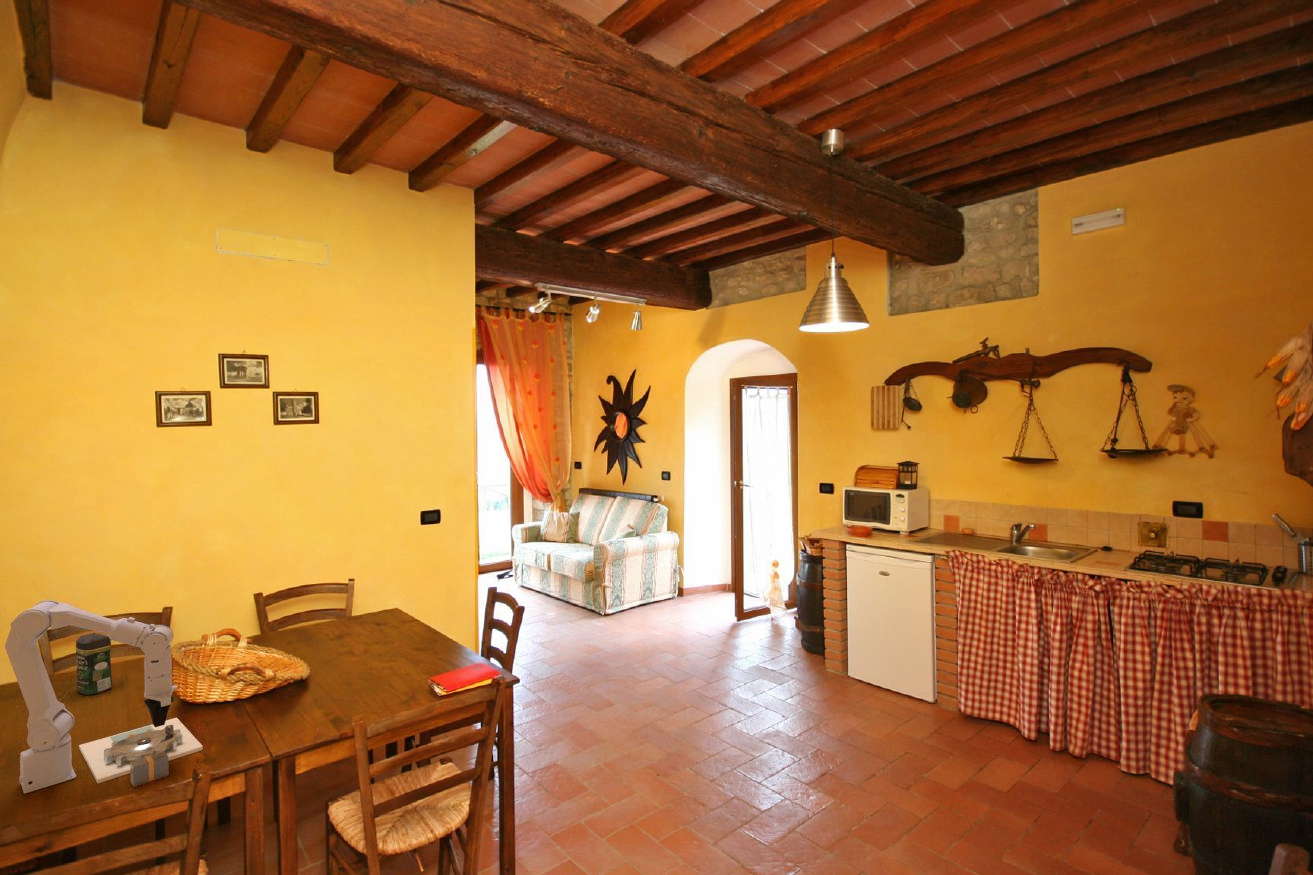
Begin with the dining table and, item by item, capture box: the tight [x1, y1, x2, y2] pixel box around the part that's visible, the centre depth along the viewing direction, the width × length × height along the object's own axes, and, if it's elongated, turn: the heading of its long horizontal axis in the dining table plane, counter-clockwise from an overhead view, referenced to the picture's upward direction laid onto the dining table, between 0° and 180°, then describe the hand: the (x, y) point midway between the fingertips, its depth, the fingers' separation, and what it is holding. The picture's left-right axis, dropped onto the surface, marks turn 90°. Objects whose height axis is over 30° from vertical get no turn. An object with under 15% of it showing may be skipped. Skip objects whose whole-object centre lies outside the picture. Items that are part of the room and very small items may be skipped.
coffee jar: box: [75, 632, 113, 696], centre depth 217 cm, size 10×8×19 cm
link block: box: [129, 752, 170, 788], centre depth 164 cm, size 7×4×5 cm, turn 139°
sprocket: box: [104, 725, 183, 766], centre depth 176 cm, size 17×17×5 cm
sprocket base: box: [78, 717, 204, 784], centre depth 178 cm, size 22×26×1 cm
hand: (159, 725), depth 172 cm, fingers closed
